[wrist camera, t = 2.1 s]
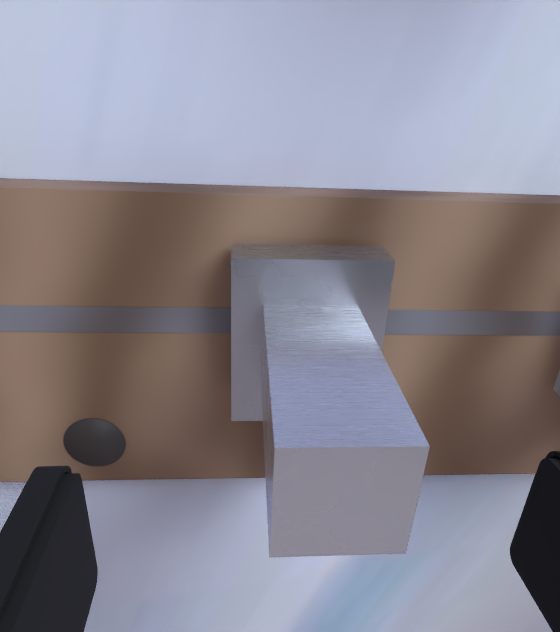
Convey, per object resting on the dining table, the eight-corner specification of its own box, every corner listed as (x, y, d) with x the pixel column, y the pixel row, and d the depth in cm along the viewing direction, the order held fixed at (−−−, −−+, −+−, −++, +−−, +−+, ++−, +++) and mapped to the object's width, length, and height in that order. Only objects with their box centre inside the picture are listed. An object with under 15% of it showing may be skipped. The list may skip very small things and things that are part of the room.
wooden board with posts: (725, 200, 18) (1204, 313, 9) (616, 449, 23) (851, 679, 14) (-117, 174, 16) (-600, 291, 7) (-31, 456, 21) (-240, 736, 12)
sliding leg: (382, 246, 16) (498, 380, 9) (353, 455, 20) (416, 671, 12) (232, 243, 16) (220, 380, 8) (232, 457, 19) (224, 679, 12)
